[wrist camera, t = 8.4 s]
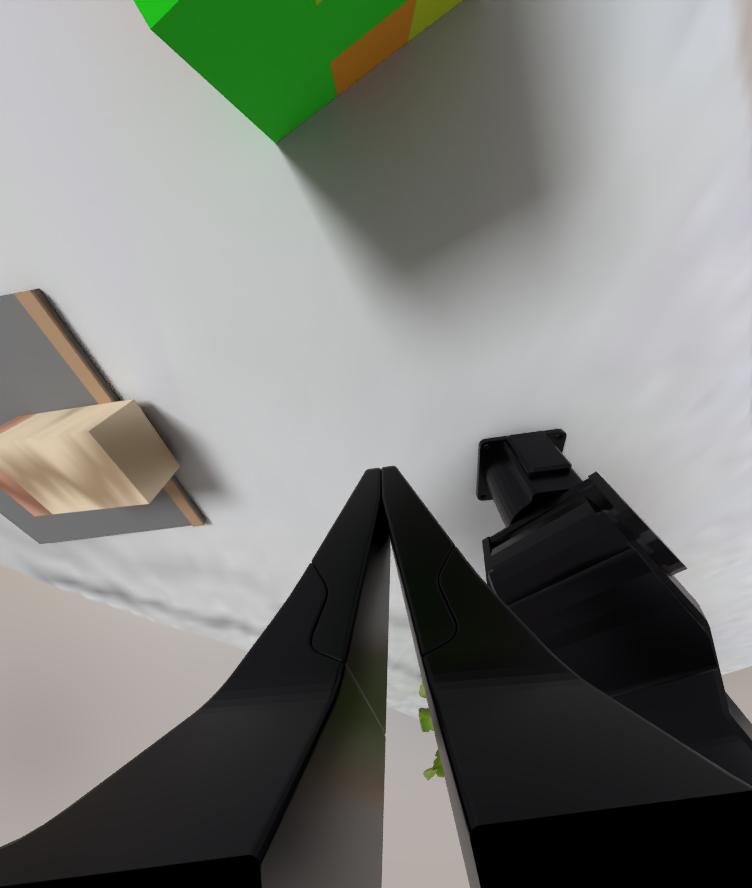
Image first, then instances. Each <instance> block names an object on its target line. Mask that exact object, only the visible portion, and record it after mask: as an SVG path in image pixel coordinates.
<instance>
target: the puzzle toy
mask: <svg viewBox="0 0 752 888" xmlns="http://www.w3.org/2000/svg"><path fill="white" fill-rule="evenodd" d="M461 1H462V0H134V2H135V3H136V5H137V7H138V9H139V10H140V12H141V14H142V15H143V17H144V19H145V21H146V22H147V24H148V26H149V27H150V29H151V30H152V31H153V32H154V33H155V34H156V35H157V36H159V37H160V38H161V39H162V40H163V41H164V42H165V43H166V44H167V45H168V46H170V47H171V48H172V49H173V50H174V51H175V52H176V53H177V54H178V55H179V56H180V57H182V58H183V59H184V60H185V61H186V62H187V63H188V64H189V65H190V66H191V67H193V68H194V69H195V70H196V71H197V72H198V73H199V74H200V75H201V76H202V77H203V78H205V79H206V80H207V81H208V82H209V83H210V84H211V85H212V86H213V87H214V88H216V89H217V90H218V91H219V92H220V93H221V94H222V95H223V96H224V97H225V98H226V99H228V100H229V101H230V102H231V103H232V104H233V105H234V106H235V107H236V108H237V109H239V110H240V111H241V112H242V113H243V114H244V115H245V116H246V117H247V118H248V119H249V120H251V121H252V122H253V123H254V124H255V125H256V126H257V127H258V128H259V129H260V130H262V131H263V132H264V133H265V134H266V135H267V136H268V137H269V138H270V139H271V140H272V141H274V142H275V143H276V142H278V141H279V140H280V139H282V138H283V137H284V136H286V135H287V134H288V133H290V132H291V131H292V130H293V129H295V128H296V127H297V126H299V125H300V124H301V123H303V122H304V121H305V120H307V119H308V118H309V117H310V116H312V115H313V114H314V113H316V112H317V111H318V110H320V109H321V108H322V107H324V106H325V105H326V104H327V103H329V102H330V101H331V100H333V99H334V98H335V97H337V96H338V95H339V94H341V93H342V92H343V91H344V90H346V89H347V88H348V87H350V86H351V85H352V84H354V83H355V82H356V81H358V80H359V79H360V78H362V77H363V76H364V75H365V74H367V73H368V72H369V71H371V70H372V69H373V68H375V67H376V66H377V65H379V64H380V63H381V62H382V61H384V60H385V59H386V58H388V57H389V56H390V55H392V54H393V53H394V52H396V51H397V50H398V49H399V48H401V47H402V46H403V45H405V44H406V43H407V42H409V41H410V40H411V39H413V38H414V37H415V36H416V35H418V34H419V33H420V32H422V31H423V30H424V29H426V28H427V27H428V26H430V25H431V24H432V23H434V22H435V21H436V20H437V19H439V18H440V17H441V16H443V15H444V14H445V13H447V12H448V11H449V10H451V9H452V8H453V7H454V6H456V5H457V4H458V3H460V2H461Z"/></svg>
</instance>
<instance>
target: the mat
mask: <svg viewBox="0 0 752 888" xmlns="http://www.w3.org/2000/svg"><path fill="white" fill-rule="evenodd" d="M118 401H120V400H119V399H118V397H117V396H116V394H115V393H114V392H113V390H112V389H111V387H110V386H109V385H108V383H107V382H106V381H105V379H104V378H103V376H102V375H101V374H100V372H99V371H98V369H97V368H96V367H95V365H94V364H93V363H92V361H91V360H90V358H89V357H88V356H87V354H86V353H85V351H84V350H83V349H82V347H81V346H80V345H79V343H78V342H77V340H76V339H75V338H74V336H73V335H72V333H71V332H70V331H69V329H68V328H67V326H66V325H65V324H64V322H63V321H62V320H61V318H60V317H59V315H58V314H57V313H56V311H55V310H54V308H53V307H52V306H51V304H50V303H49V302H48V300H47V299H46V297H45V296H44V295H43V293H42V292H41V290H40V289H35V290H30V291H24V292H19V293H14V294H9V295H4V296H0V426H1V425H3V424H5V423H7V422H9V421H11V420H12V419H14V418H16V417H18V416H23V415H30V414H37V413H44V412H50V411H57V410H64V409H71V408H77V407H84V406H91V405H98V404H104V403H111V402H118ZM0 513H1V514H2V515H3V516H4V517H6V518H7V519H8V520H10V521H11V522H12V523H13V524H15V525H16V526H17V527H19V528H20V529H21V530H23V531H24V532H25V533H26V534H28V535H29V536H30V537H32V538H33V539H34V540H35V541H37V542H38V543H39V544H44V543H52V542H61V541H69V540H77V539H85V538H93V537H101V536H109V535H117V534H125V533H133V532H141V531H149V530H157V529H165V528H173V527H181V526H189V525H193V527H194V526H202V525H204V523H205V522H206V519H205V518H204V516H203V515H202V514H201V512H200V511H199V510H198V508H197V507H196V505H195V504H194V503H193V501H192V500H191V498H190V497H189V496H188V494H187V493H186V491H185V490H184V489H183V487H182V486H181V485H180V483H179V482H178V480H177V479H176V478H175V476H174V475H173V476H172V477H171V478H170V480H169V481H168V482H167V483H166V484H165V486H164V487H163V488H162V489H161V490H160V492H159V493H158V494H157V495H156V496H155V498H154V499H153V500H152V501H151V502H150V504H143V505H134V506H125V507H116V508H107V509H97V510H88V511H79V512H70V513H61V514H52V515H43V516H33V515H32V514H31V513H30V512H29V511H27V510H26V509H25V508H24V507H23V506H21V505H20V504H19V503H18V502H17V501H15V500H14V499H13V498H12V497H11V496H9V495H8V494H7V493H6V492H5V491H3V490H2V489H1V488H0Z"/></svg>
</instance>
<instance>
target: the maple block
mask: <svg viewBox="0 0 752 888" xmlns="http://www.w3.org/2000/svg"><path fill="white" fill-rule="evenodd" d="M179 468H180V465H179V463H178V462H177V461H176V459H175V458H174V456H173V455H172V453H171V452H170V450H169V449H168V448H167V446H166V445H165V443H164V442H163V440H162V439H161V437H160V436H159V434H158V433H157V432H156V430H155V429H154V427H153V426H152V424H151V423H150V421H149V420H148V419H147V417H146V416H145V414H144V413H143V411H142V410H141V408H140V407H139V406H138V404H137V403H136V401H135V400H134V399H132V400H125V401H118V402H111V403H104V404H98V405H91V406H84V407H77V408H71V409H64V410H57V411H50V412H44V413H37V414H30V415H23V416H18V417H16V418H14V419H12V420H11V421H9V422H7V423H5V424H3V425H1V426H0V488H1V489H2V490H3V491H5V492H6V493H7V494H8V495H9V496H11V497H12V498H13V499H14V500H15V501H17V502H18V503H19V504H20V505H21V506H23V507H24V508H25V509H26V510H27V511H29V512H30V513H31V514H32V515H33V516H43V515H52V514H61V513H70V512H79V511H88V510H97V509H107V508H116V507H125V506H134V505H143V504H150V502H151V501H152V500H153V499H154V498H155V496H156V495H157V494H158V493H159V492H160V490H161V489H162V488H163V487H164V486H165V484H166V483H167V482H168V481H169V480H170V478H171V477H172V476H173V475H174V474H175V472H176V471H177V470H178V469H179Z"/></svg>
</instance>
